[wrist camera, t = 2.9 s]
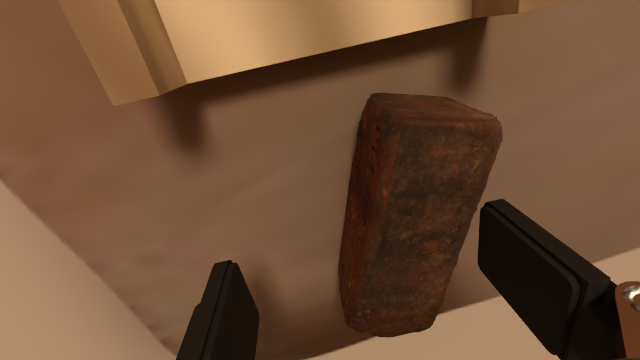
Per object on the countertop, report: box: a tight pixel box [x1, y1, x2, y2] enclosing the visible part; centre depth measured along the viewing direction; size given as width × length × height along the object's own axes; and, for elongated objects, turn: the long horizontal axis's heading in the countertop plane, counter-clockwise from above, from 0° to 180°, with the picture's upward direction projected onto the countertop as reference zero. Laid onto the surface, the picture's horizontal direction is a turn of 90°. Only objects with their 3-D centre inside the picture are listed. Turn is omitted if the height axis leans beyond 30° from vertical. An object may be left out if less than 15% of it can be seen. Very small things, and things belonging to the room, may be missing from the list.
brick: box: [339, 93, 502, 337], centre depth 13 cm, size 11×4×5 cm, turn 176°
